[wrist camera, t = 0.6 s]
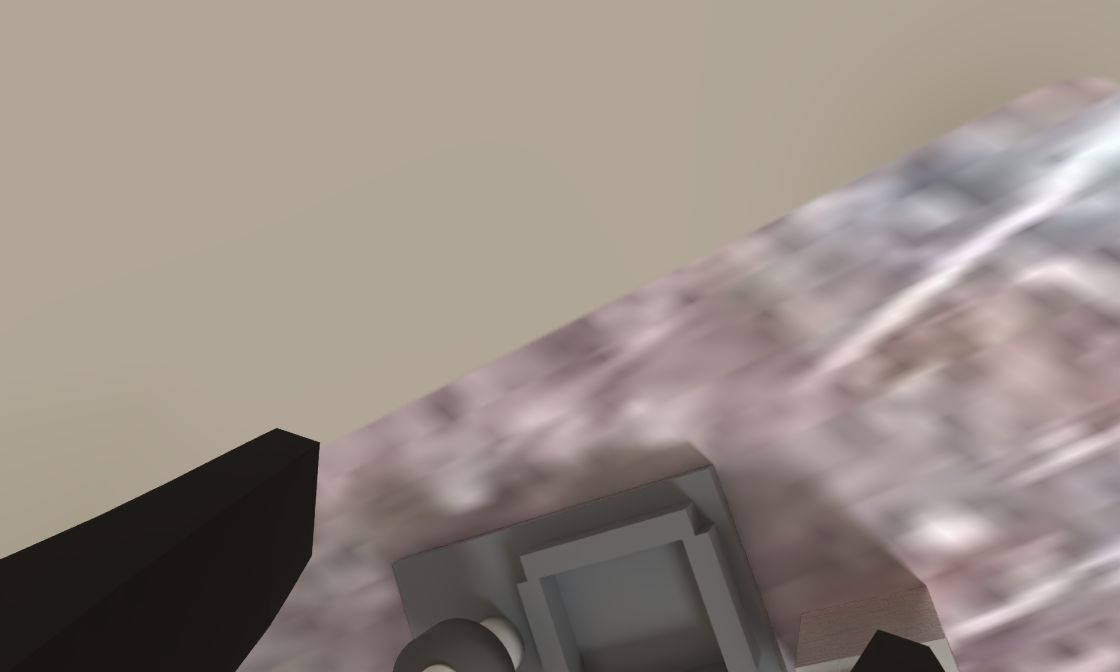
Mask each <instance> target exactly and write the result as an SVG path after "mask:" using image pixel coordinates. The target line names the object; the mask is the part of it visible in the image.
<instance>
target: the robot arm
mask: <svg viewBox="0 0 1120 672" xmlns="http://www.w3.org/2000/svg"><path fill="white" fill-rule="evenodd" d="M319 447H320V442H317V441H314V440H311V439H308V438H305V437H302V436H299V435H296V434H293V433H290V432H287V431H284V430H281V429H278V428H276V429H274V430H271V431H270V432H267V433H265V434H263V435H261V436H259V437H257V438H255V439H253V440H251V441H249V442H247V443H245V444H243V445H241V446H239V447H237V448H235V449H233V450H231V451H229V452H227V453H225V454H223V455H221V456H219V457H217V458H215V459H213V460H211V461H209V462H208V463H205V464H203V465H201V466H200V467H197V468H195V469H193V470H191V471H189V472H188V473H185V474H184V475H182V476H180V477H178V478H176V479H174V480H172V481H170V482H168V483H166V484H164V485H162V486H160V487H157V488H155V489H153V490H151V491H149V492H147V493H145V494H143V495H141V496H139V497H137V498H135V499H133V500H131V501H128V502H126V503H124V504H122V505H120V506H118V507H116V508H114V509H112V510H110V511H108V512H106V513H104V514H102V515H100V516H97V517H95V518H93V519H91V520H89V521H86V522H84V523H82V524H79V525H77V526H75V527H73V528H70V529H68V530H66V531H64V532H61V533H59V534H57V535H55V536H52V537H50V538H48V539H45V540H44V541H41V542H39V543H36V544H34V545H32V546H30V547H27V548H25V549H23V550H21V551H18V552H16V553H14V554H12V555H9V556H7V557H5V558H2V559H0V672H235V671H236V670H237V669H238V667H239V666H240V665H241V663H242V662H243V661H244V659H245V658H246V657H247V655H248V654H249V653H250V652H251V650H252V649H253V648H254V646H255V645H256V644H257V642H258V641H259V640H260V638H261V637H262V636H263V634H264V633H265V632H266V630H267V629H268V628H269V626H270V625H271V623H272V622H273V620H274V618H275V617H276V615H277V613H278V612H279V610H280V609H281V607H282V605H283V604H284V602H285V600H286V599H287V597H288V595H289V594H290V592H291V590H292V589H293V587H294V585H295V584H296V582H297V580H298V578H299V577H300V575H301V573H302V572H303V570H304V568H305V566H306V565H307V563H308V561H309V560H310V558H311V556H312V546H313V532H314V518H315V504H316V490H317V475H318V461H319ZM851 672H945V670H944V669H943V667H942V665H941V664H940V662H939V661H938V659H937V658H936V656H935V655H934V653H933V651H932V650H931V648H930V647H929V646H927V645H924V644H921V643H918V642H915V641H912V640H909V639H906V638H903V637H900V636H897V635H894V634H891V633H888V632H885V631H882V630H879V629H877V631H876V633H875V634H874V636H873V637H872V639H871V640H870V642H869V643H868V645H867V647H866V648H865V650H864V651H863V653H862V654H861V656H860V657H859V659H858V661H857V662H856V664H855V665H854V667H853V668H852V670H851Z"/></svg>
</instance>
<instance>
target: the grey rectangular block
mask: <svg viewBox="0 0 1120 672" xmlns="http://www.w3.org/2000/svg"><path fill="white" fill-rule="evenodd" d="M877 629H879V630H882V631H885V632H888V633H891V634H894V635H897V636H900V637H903V638H906V639H909V640H912V641H915V642H918V643H921V644H924V645H927V646H929V647H930V648H931V650H932V651H933V653H934V655H935V656H936V658H937V659H938V661H939V662H940V664H941V665H942V667H943V669H944V670H945V672H960V670H959V668H958V665H957V663H956V660H955V657H954V655H953V652H952V650H951V647H950V645H949V642H948V640H947V637H946V634H945V632H944V629H943V627H942V624H941V622H940V619H939V617H938V614H937V611H936V609H935V606H934V604H933V601H932V599H931V596H930V593H929V591H928V588H927V586H925V587H920V588H916V589H911V590H907V591H902V592H898V593H893V594H889V595H884V596H880V597H875V598H871V599H866V600H862V601H857V602H853V603H848V604H844V605H839V606H835V607H830V608H826V609H821V610H817V611H812V612H808V613H804V614H802V618H801V625H800V633H799V640H798V648H797V655H796V662H795V670H796V672H851V670H852V668H853V667H854V665H855V664H856V662H857V661H858V659H859V657H860V656H861V654H862V653H863V651H864V650H865V648H866V647H867V645H868V643H869V642H870V640H871V639H872V637H873V636H874V634H875V633H876V631H877Z"/></svg>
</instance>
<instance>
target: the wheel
mask: <svg viewBox="0 0 1120 672" xmlns="http://www.w3.org/2000/svg"><path fill="white" fill-rule="evenodd" d="M393 672H515V668H514V664H513V662H512V659H511V657H510V655H509V653H508V651H507V649H506V647H505V646H504V644H503V643H502V642H501V641H500V639H499V638H498V637H497V636H496V635H495V634H494V633H493V632H492V631H490V630H489V629H488V628H487V627H485V626H483V625H481V624H480V623H477V622H475V621H472V620H469V619H463V618H452V619H447V620H444V621H441V622H439V623H437V624H436V625H434V626H433V627H431V628H430V629H428V630H427V631H426V632H424V633H423V634H421V635H420V636H419V637H417V638H416V639H414V640H413V641H412V642H410V643H409V644H408V645H407V646H406V647H405V648H404V649H403V650H402V652H401V653H400V655H399V656H398V658H397V660H396V663H395V666H394V669H393Z"/></svg>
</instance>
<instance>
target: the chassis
mask: <svg viewBox="0 0 1120 672" xmlns="http://www.w3.org/2000/svg"><path fill="white" fill-rule="evenodd" d="M392 568H393V571H394V575H395V578H396V581H397V585H398V588H399V591H400V595H401V598H402V601H403V605H404V608H405V612H406V615H407V618H408V622H409V625H410V628H411V632H412V635H413V639H416V638H417V637H419V636H420V635H421V634H423V633H424V632H426V631H427V630H428V629H430V628H431V627H433V626H434V625H436V624H437V623H439V622H441V621H444V620H447V619H452V618H463V619H469V620H472V621H475V622H477V623H480V624H481V625H483V626H485V627H487V628H488V629H489V630H490V631H492V632H493V633H494V634H495V635H496V636H497V637H498V638H499V639H500V641H501V642H502V643H503V644H504V646H505V647H506V649H507V651H508V653H509V655H510V657H511V659H512V662H513V664H514V668H515V672H788V671H787V668H786V666H785V663H784V660H783V657H782V654H781V652H780V649H779V646H778V643H777V641H776V638H775V635H774V632H773V630H772V627H771V624H770V621H769V618H768V616H767V613H766V610H765V607H764V605H763V602H762V599H761V596H760V593H759V591H758V588H757V585H756V582H755V580H754V577H753V574H752V571H751V568H750V566H749V563H748V560H747V557H746V555H745V552H744V549H743V546H742V544H741V541H740V538H739V535H738V532H737V530H736V527H735V524H734V521H733V519H732V516H731V513H730V510H729V507H728V505H727V502H726V499H725V496H724V494H723V491H722V488H721V485H720V483H719V480H718V477H717V474H716V471H715V469H714V466H713V464H712V465H708V466H705V467H702V468H699V469H695V470H692V471H689V472H685V473H682V474H679V475H675V476H672V477H669V478H666V479H662V480H659V481H656V482H652V483H649V484H646V485H642V486H639V487H636V488H633V489H629V490H626V491H623V492H619V493H616V494H613V495H610V496H606V497H603V498H600V499H596V500H593V501H590V502H586V503H583V504H580V505H577V506H573V507H570V508H567V509H563V510H560V511H557V512H553V513H550V514H547V515H544V516H540V517H537V518H534V519H530V520H527V521H524V522H520V523H517V524H514V525H511V526H507V527H504V528H501V529H497V530H494V531H491V532H487V533H484V534H481V535H478V536H474V537H471V538H468V539H464V540H461V541H458V542H454V543H451V544H448V545H445V546H441V547H438V548H435V549H431V550H428V551H425V552H421V553H418V554H415V555H412V556H408V557H405V558H402V559H400V560H398V561H396V562H394V563H392Z"/></svg>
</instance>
